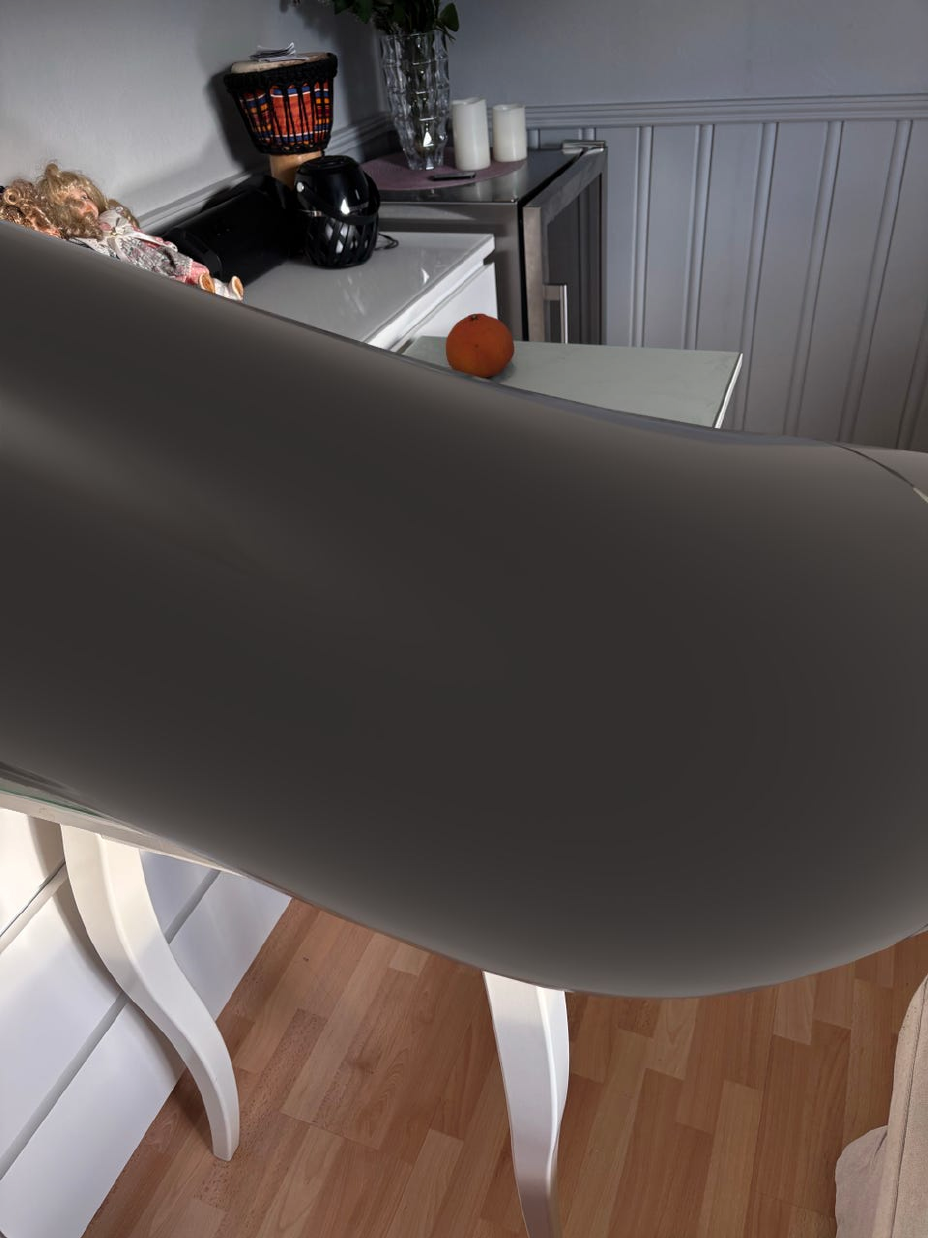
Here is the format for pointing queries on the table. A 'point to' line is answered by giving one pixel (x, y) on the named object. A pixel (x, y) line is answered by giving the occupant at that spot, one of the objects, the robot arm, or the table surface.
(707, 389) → the table surface
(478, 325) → the fruit
